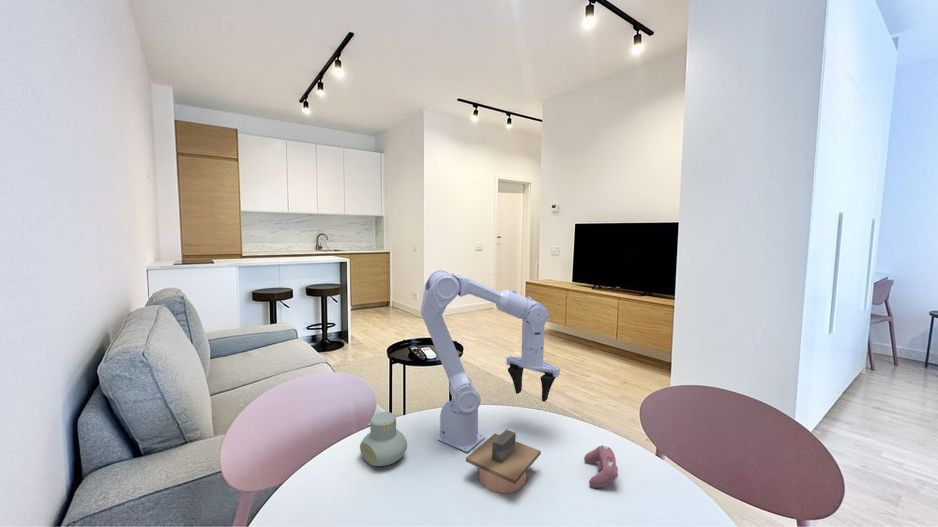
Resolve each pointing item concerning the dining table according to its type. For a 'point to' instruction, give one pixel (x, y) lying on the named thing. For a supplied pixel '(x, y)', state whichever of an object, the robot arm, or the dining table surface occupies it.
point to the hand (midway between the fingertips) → (531, 396)
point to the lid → (504, 456)
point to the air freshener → (383, 441)
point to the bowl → (500, 482)
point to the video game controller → (602, 466)
